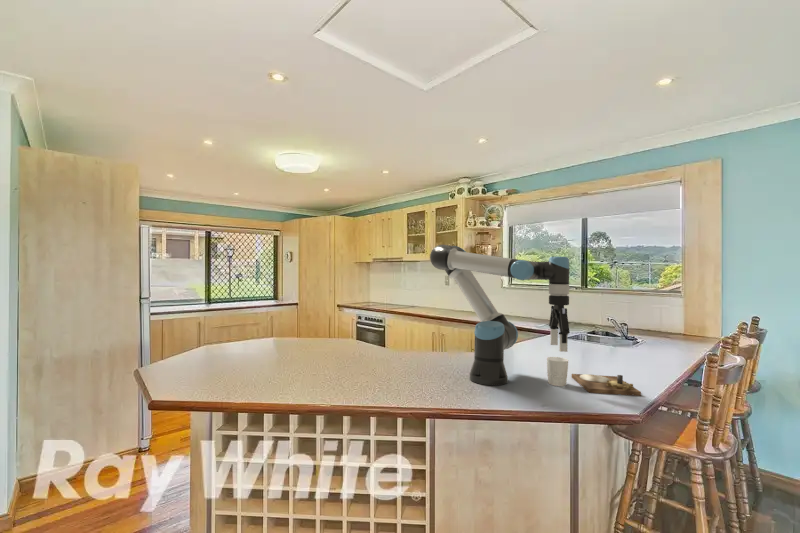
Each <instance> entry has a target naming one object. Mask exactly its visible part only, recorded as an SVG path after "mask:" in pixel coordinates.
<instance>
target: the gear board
mask: <svg viewBox="0 0 800 533" xmlns="http://www.w3.org/2000/svg"><path fill="white" fill-rule="evenodd" d="M571 378H572V379H573V380H574V381H575V382H576V383H577V384H578V385H580V387H582V388H583V389H584V390H585V391H586V392H587V393H591V394H592V393H593V394H606V395H618V394H621V395H622V396H633V397H634V396H636V397H642V391H640V390H638V389H637V388H636V387H635V386H634V384H633V383H629V382H627V381H624V380H623V379H624V378H623V375H622V374H617V375H615V376H613V375H598V374H582V373H579V374H578V373H571Z"/></svg>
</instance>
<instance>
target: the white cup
mask: <svg viewBox="0 0 800 533" xmlns="http://www.w3.org/2000/svg"><path fill="white" fill-rule="evenodd" d="M546 360H547V361H546V364H547V365H546V367H547V368H546V369H547V372H546V374H547V383H548V385H550V386H553V387H554V386H556V387H566V386H567V379H568V372H569V371H568V370H569V360H568V358H564V357H560V356H547V358H546Z"/></svg>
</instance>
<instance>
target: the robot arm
mask: <svg viewBox="0 0 800 533" xmlns="http://www.w3.org/2000/svg"><path fill="white" fill-rule="evenodd" d="M429 261H430V262H431V265H432V266H433V267H434V268H436V269H437V270H442V271H445V273H446V275H447V276H448V278H449V279H452V280H454V281H455V283H456V284H457V286H458V287H459V289H460V291H461V292H462V294H463V295H464V297H465V299H466V300H467V301H468V303H469V305H470V306H471V308H472V310H473V311H474V313H475V314H476V316H477V317H478V319H479V320H480V321H479V322H478V323H476V324H475V326H474V331H473V334H474V352H473V354H474V355H473V356H474V357H473V358H474V359H473V362H472V365H471V369H470V372H469V380H470V381H471V382H473V383H476V384H479V385H485V386H502V385H505V384H506V385H507V384H508V383H509V382H508V381H509V376H508V372H507V370H506V367H505V361H504V356H505V354H504V352H505V351H504V350H507V349H510V348H512V347H513V346H514V345H515V344H516V343H517V341H518V339H519V338H518V337H519V332H518V329H517V327H516V325H515V324H514V323H512V322H510V321H508V319H507V318H506V316H505V315H504V314H503V313H501V312H498V310H497V309H496V307H495V305H494V304H493V302H492V301H491V299H490V297H488V295H487V294H486V292H485V290H484V288H483V287H482V285H481V284H480V283H479V281H478V280H477V278H476V276H474V273H473V272H476V273H482V274H489V275H495V276H500V277H507V278H512V279H517V280H519V281H530V280H531V281H534V280H535V281H538V280H539V281H548V294H549V295H548V304H549V305H550V308H551V309H550V316H549V323H548V326H549V328H550V342H549V343H550V346H559V347H558V348H559V350H558V351H559V352H564V353H566V352H568V338H569V337H568V335H569V334H570V325H569V318H568V309H567V308H565V306H569V305H570V296H569V294H570V290H571V287H570V259H569V257H568V256H550V257H548V261H532V260H526V259H525V260H524V259H517V258H509V257H503V256H502V257H501V256H495V255H488V254H481V253H474V252H468V251H466V250H465V249H464V248H462V247H460V246H457V245H448V244H439V245H436V246H435V247H433V249H432V250H431V251H430V254H429ZM558 339H559V340H558Z"/></svg>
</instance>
